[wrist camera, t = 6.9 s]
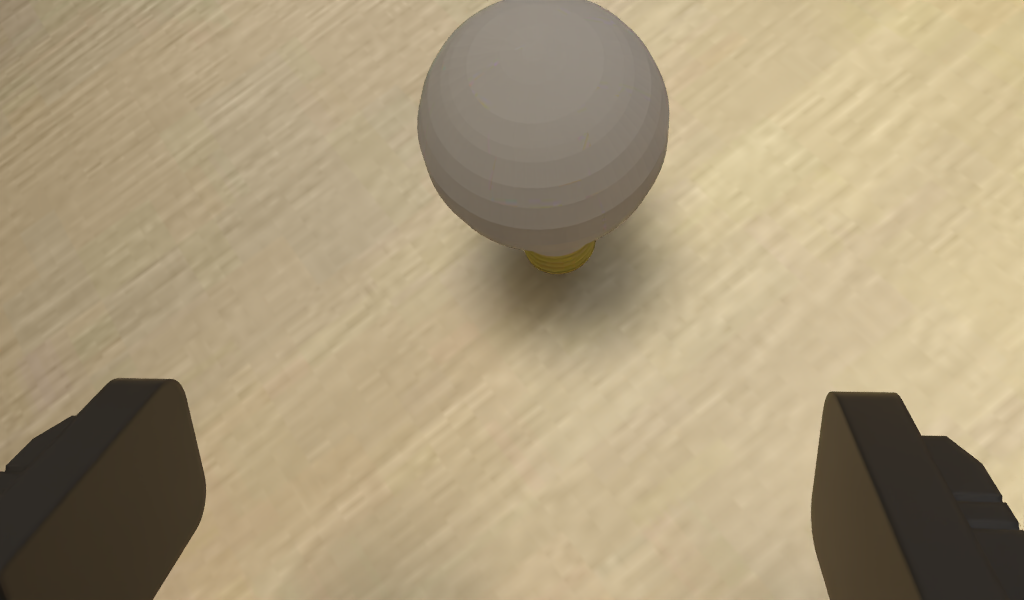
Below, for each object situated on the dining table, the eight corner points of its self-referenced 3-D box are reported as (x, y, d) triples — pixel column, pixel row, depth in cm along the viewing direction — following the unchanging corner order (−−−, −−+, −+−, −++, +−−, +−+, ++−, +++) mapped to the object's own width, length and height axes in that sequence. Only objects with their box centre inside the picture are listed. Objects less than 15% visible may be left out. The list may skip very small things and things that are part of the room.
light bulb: (430, 263, 27) (335, 75, 17) (548, 135, 28) (518, -109, 18) (572, 376, 25) (551, 237, 16) (690, 236, 26) (737, 26, 17)
